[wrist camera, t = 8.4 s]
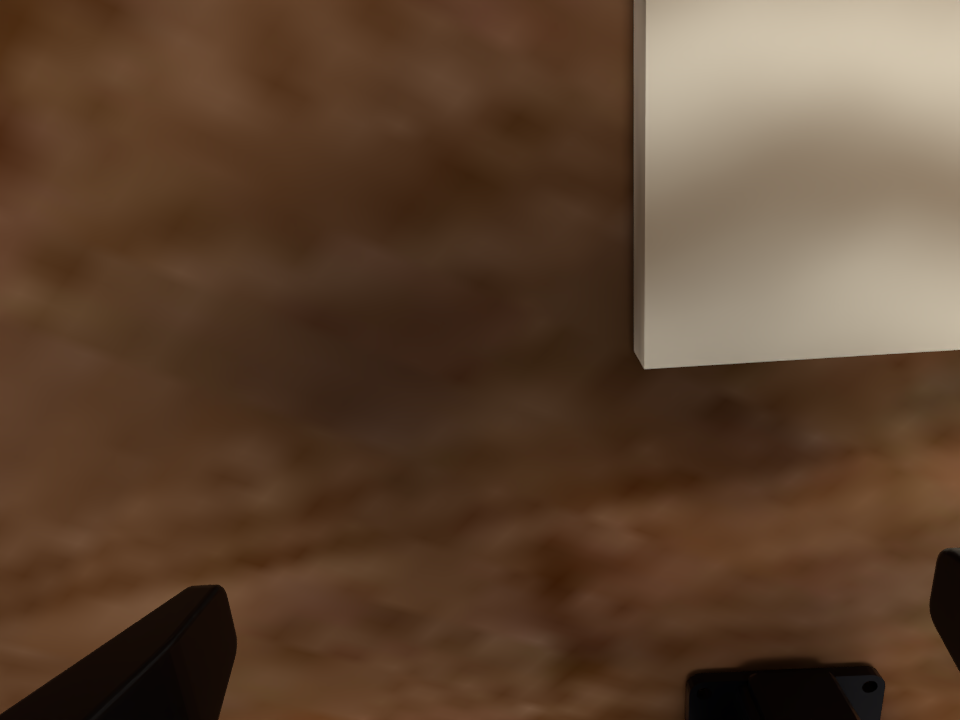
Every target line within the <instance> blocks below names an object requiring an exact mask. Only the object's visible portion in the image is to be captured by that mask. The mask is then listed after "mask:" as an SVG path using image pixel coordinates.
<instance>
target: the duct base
mask: <svg viewBox="0 0 960 720" xmlns="http://www.w3.org/2000/svg"><path fill="white" fill-rule="evenodd" d="M945 350H960V0H634V352H635V354H636V356H637V357H638V359H639V361H640V363H641V364H642V366H643V368H644V369H656V368H672V367H688V366H704V365H720V364H736V363H752V362H768V361H784V360H801V359H817V358H833V357H849V356H865V355H881V354H897V353H913V352H929V351H945Z"/></svg>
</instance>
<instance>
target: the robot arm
mask: <svg viewBox="0 0 960 720" xmlns="http://www.w3.org/2000/svg"><path fill="white" fill-rule="evenodd" d="M929 606H930V614H931V618H932V621H933V623H934V625H935V627H936V629H937V631H938V633H939V635H940V637H941V638H942V640H943V642H944V644H945V646H946V648H947V649H948V651H949V653H950V655H951V657H952V659H953V660H954V662H955V664H956V666H957V668H958V670H959V671H960V548H947V549H944V550H943V551H941V552H940V554H939V555H938V558H937V561H936V567H935V573H934V579H933V585H932V591H931V596H930V605H929ZM236 649H237V637H236V632H235V628H234V623H233V619H232V615H231V610H230V606H229V602H228V598H227V594H226V591H225V590H224V588H223V587H221V586H220V585H199V586H191V587H188V588H186V589H185V590H183V591H182V592H180V593H179V594H177V595H176V596H174V597H173V598H171V599H170V600H169V601H167V602H166V603H164V604H163V605H161V606H160V607H158V608H157V609H155V610H154V611H152V612H151V613H149V614H148V615H146V616H145V617H143V618H142V619H140V620H139V621H138V622H136V623H135V624H133V625H132V626H130V627H129V628H127V629H126V630H124V631H123V632H121V633H120V634H118V635H117V636H115V637H114V638H112V639H111V640H109V641H108V642H107V643H105V644H104V645H102V646H101V647H99V648H98V649H96V650H95V651H93V652H92V653H90V654H89V655H87V656H86V657H84V658H83V659H81V660H80V661H78V662H77V663H76V664H74V665H73V666H71V667H70V668H68V669H67V670H65V671H64V672H62V673H61V674H59V675H58V676H56V677H55V678H53V679H52V680H50V681H49V682H47V683H46V684H45V685H43V686H42V687H40V688H39V689H37V690H36V691H34V692H33V693H31V694H30V695H28V696H27V697H25V698H24V699H22V700H21V701H19V702H18V703H16V704H15V705H14V706H12V707H11V708H9V709H8V710H6V711H5V712H3V713H2V714H0V720H218V719H219V715H220V711H221V708H222V704H223V700H224V696H225V693H226V689H227V685H228V682H229V678H230V674H231V671H232V667H233V663H234V660H235V656H236ZM868 681H869V682H868ZM866 682H868V683H866ZM702 688H706V689H705V690H702V691H699V690H700V689H702ZM884 690H885V682H884V680H883V679H882V677H881V676H880V674H879V673H878V671H877V670H876V669H875V668H873V667H869V666H857V667H834V668H811V669H789V670H766V671H743V672H720V673H701V674H696V675H694V676H692V677H691V678H690V679H689V680H688V681H687V685H686V710H685V720H880V716H881V710H882V703H883V696H884Z"/></svg>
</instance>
